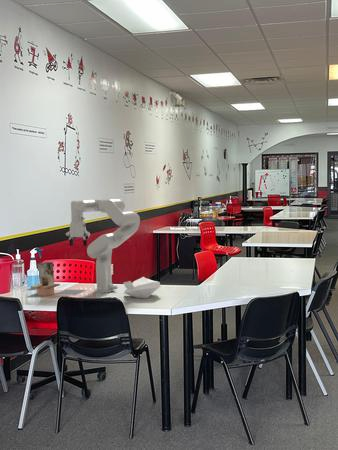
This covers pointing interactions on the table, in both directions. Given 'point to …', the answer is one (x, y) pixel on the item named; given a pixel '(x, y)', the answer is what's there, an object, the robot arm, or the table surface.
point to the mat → (71, 292)
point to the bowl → (45, 292)
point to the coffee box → (46, 271)
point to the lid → (45, 284)
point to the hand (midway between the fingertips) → (78, 245)
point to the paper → (141, 287)
